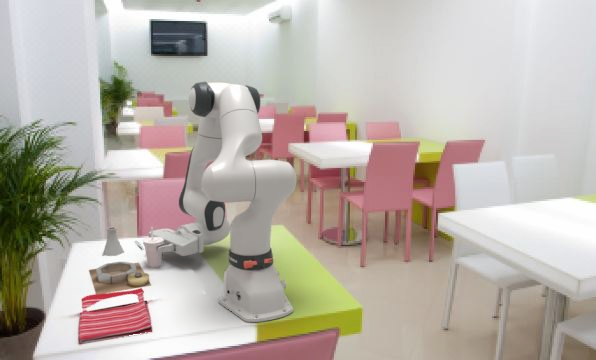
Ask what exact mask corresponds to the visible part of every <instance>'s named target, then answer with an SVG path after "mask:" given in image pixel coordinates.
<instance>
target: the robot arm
mask: <svg viewBox="0 0 596 360" xmlns="http://www.w3.org/2000/svg"><path fill="white" fill-rule="evenodd" d="M188 95H189V96H188V104H189V106H190V111H191V112H192V113H193V114H194V115H195V116H198V117H199V119H198V120H199V122H198V128H197V138H196V142H195V145H194V146H193V147H192V149H191V151H190V154H189V158H188V163H187V168H186V174H185V178H184V184H183V187H182V189H181V192H180V195H179V199H178V206H179V209H180V211H181V212H182V213H184V214H185V215H188V216H190V217H194V218H195V221H194V222H190V223H186V224H181V225H179V226H178V227H177V229H176V230H174V229H171V228H158V229H155V230H154V229H153V237H161V238H163V239H164V243H163V246H162V245H161V246H157V252H159V253H162V254H163V253H168V252H169V253H174V254H177V255H179V256H183V257H184V256H190V255H194V254H195V255H196V254H201V253H204V250H205V249H204V246H210V245H214V244H217V243H220V242H221V241H223V240H225V239H226V238H227V237H228V236H229V234H230V237H229V238H230V239H229V240H230V241H229V242H230V243H229V244H230V248H229V249H228V256H227V257H228V263H229V264H228V266H227V268H226V270H225V271H224V273H223V289H222V290H223V291H222V295H220V296H219V297H218V304H219V305H221V306H222V307H224V308H225V309H227V310H228V309H229V312H231V311H232V312H231V313H232V314H234V315H235V316H237V317H238V316H239V318H240V319H241V320H243V321H244V322H249V323H257V322H258V323H259V322H268V321H271V320H272V321H273V320H275V319H280V318H283V317H287V316H288V315H290V314H292V313H293V312H294V308H293V305H292V303H291V301H289V299H288V297H287V296H286V294H285V289H286V288H287V281H286V280H284V279H282V280H281V278H280V271H277V270H276V269H277V268H275V264H274V258H273V257H274V254H273V250H272V248H271V236H272V235H271V232H272V225H273V219H274V217H275V214H276V212H277V211H278V209H279V207H280V206H281V204H282V203H283V202H284V201H285V200H286V199H287V198H288V197H289V196H291V195H292V194H293V193H294V190H295V189H296V187H297V182H298V181H297V173H296V170H295V169H294V167H293V166H292V164H291V163H290V162H289V161H285V160H283V161H282V160H278V159H277V160H276V159H260V160H259V159H257V160H255V159H254V160H248V159H246V157H247V156H249V155H251V154H254V152H255V151H257V150H258V149H259V148H260V147H261V145H262V142H263V135H262V129H261V124H260V119H259V112H260V109H261V95H260V93H259V91H258V89H257V88H255V87H253V86H250V85H243V84H238V83H228V82H221V81H220V82H217V81H216V82H207V81H201V82H196V83H194V84H193V85H192V86H191V88H190V91H189V94H188ZM209 163H211V164H209ZM208 164H209V165H208ZM207 165H208V166H207ZM206 167H207V168H206ZM241 202H243V203H244V202H250V203H249V205H248V206H247V208H246V209H245V210H243V212H241V213H239V214H237V215H236V216H235V217H234V218H233V219H232V220H231V223H230V221H229V219H228V218H227V217H226V204H225V203H231V204H232V203H241ZM150 237H151V230H150V231H149V232H148V237H147V238H150ZM143 246H144V247H145V245H144V244H143Z"/></svg>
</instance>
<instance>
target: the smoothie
mask: <svg viewBox="0 0 596 360" xmlns="http://www.w3.org/2000/svg"><path fill="white" fill-rule="evenodd" d="M153 230H154V227H153V226H151V227H150V231H151V237H150V238H148V237H147V238H144V239H143V241H142V244H143V246H144V245H145V246H144V251H145V257H146V262H147V266H148V268H152V269H153V268H159V267H161V265H162V258H163V252H162V253H159V252H157V246H161V245H162V246H163V243H164V239H163V238H161V237H153Z"/></svg>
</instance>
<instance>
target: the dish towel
mask: <svg viewBox="0 0 596 360" xmlns="http://www.w3.org/2000/svg"><path fill="white" fill-rule="evenodd" d="M144 291H145V290H143V287H139V288H135V289H130V290H122V291H116V292H110V293H104V294H96V293H95V294H90V295H86V296H84V297H82V298H81V309H82V311H81V312H80V313H79V317H78V318H79V319H78V320H79V321H78V332H77V333H78V338H77V339H78V342H79V343H80V344H82V345H83V344H88V343H94V342H95V343H96V342H101V341H108V340H115V339H119V338H118V337H122V338H125V337H124V336H128V337H130V336H129V335H133V334H140V333H145V332H152V333H153V326H152V325H153V324H152V318H151V314H150V309H149V305H148V300H145V297H144V293H145V292H144ZM125 295H136V296H137V300H138V301H135V302H131V303H125V304H120V305H115V306H110V307H104V308H98V309H93V310H87V308H89V307H92V306H94V305H95V304H97V303H99V302H101V301H104V300H108V299H113V298H116V297H120V296H121V297H122V296H125ZM151 324H152V325H151ZM140 335H141V334H140ZM114 338H115V339H114Z"/></svg>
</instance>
